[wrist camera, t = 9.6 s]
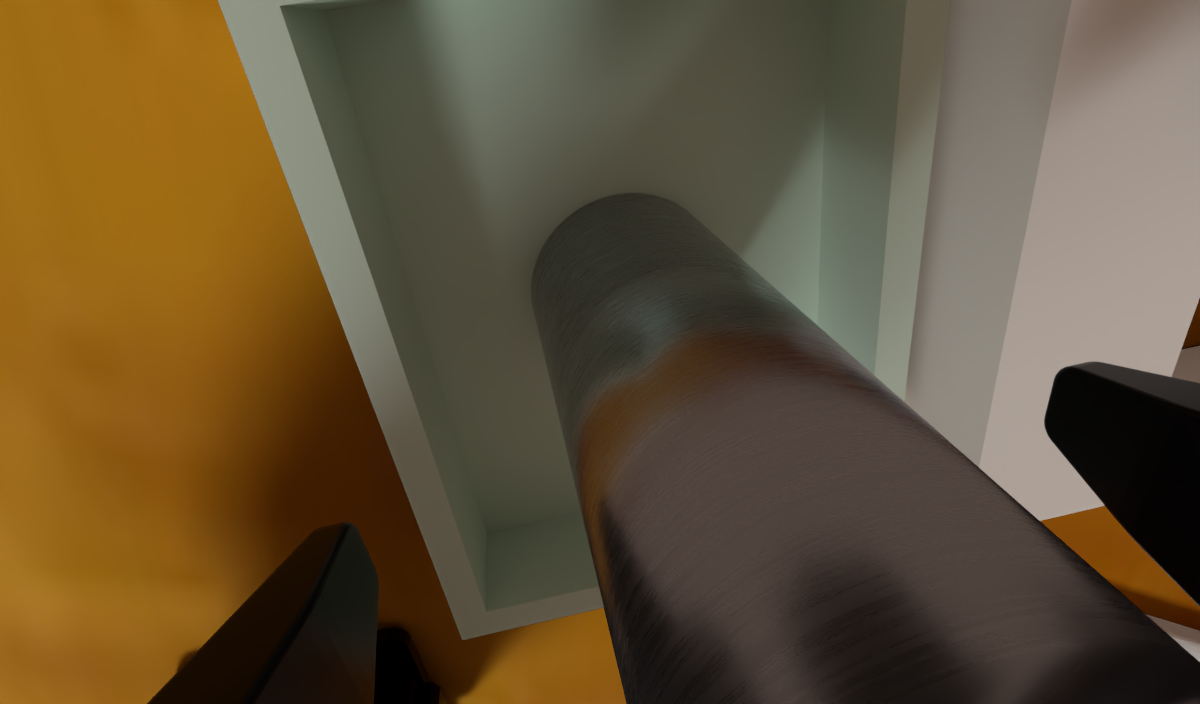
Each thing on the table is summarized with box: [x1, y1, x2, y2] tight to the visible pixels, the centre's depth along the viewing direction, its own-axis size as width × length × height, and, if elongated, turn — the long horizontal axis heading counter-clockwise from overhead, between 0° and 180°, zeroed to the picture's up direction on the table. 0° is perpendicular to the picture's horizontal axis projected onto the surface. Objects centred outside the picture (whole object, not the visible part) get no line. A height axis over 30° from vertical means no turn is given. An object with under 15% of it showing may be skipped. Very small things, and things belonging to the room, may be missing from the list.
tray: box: [218, 0, 951, 640], centre depth 12 cm, size 10×13×3 cm
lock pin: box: [531, 193, 1200, 704], centre depth 9 cm, size 4×4×10 cm
